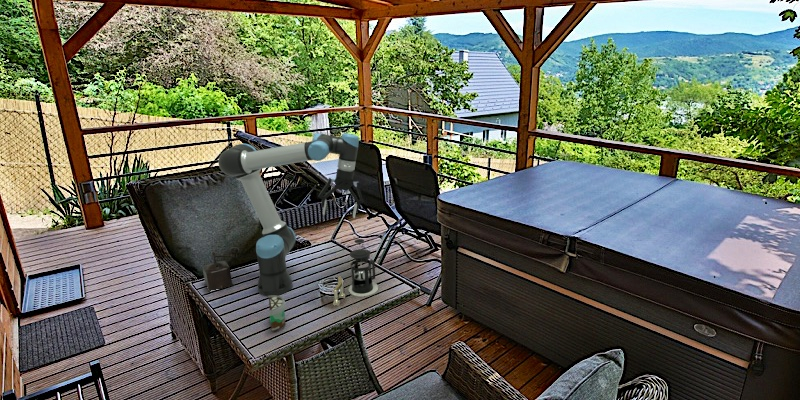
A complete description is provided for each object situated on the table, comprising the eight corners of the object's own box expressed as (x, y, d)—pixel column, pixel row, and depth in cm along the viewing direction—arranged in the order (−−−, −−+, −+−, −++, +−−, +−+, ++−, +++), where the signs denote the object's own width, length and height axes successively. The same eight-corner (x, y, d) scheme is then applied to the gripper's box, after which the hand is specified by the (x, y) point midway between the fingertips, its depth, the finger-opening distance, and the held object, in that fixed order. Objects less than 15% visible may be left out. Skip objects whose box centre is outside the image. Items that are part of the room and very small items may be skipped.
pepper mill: (209, 293, 199) (203, 256, 194) (204, 284, 208) (198, 248, 203) (245, 283, 207) (239, 247, 202) (239, 274, 216) (233, 240, 211)
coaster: (346, 297, 192) (346, 295, 192) (350, 282, 205) (350, 281, 205) (377, 296, 192) (377, 295, 192) (379, 281, 204) (378, 280, 204)
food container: (289, 331, 170) (286, 308, 167) (272, 334, 168) (268, 311, 165) (287, 314, 181) (284, 292, 178) (271, 317, 179) (268, 295, 176)
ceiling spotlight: (333, 305, 186) (332, 290, 184) (338, 289, 199) (337, 275, 197) (342, 305, 186) (341, 290, 184) (347, 289, 199) (345, 275, 197)
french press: (357, 296, 191) (353, 246, 184) (346, 288, 199) (342, 239, 192) (380, 287, 198) (377, 239, 191) (369, 280, 205) (366, 233, 198)
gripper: (317, 167, 190) (310, 215, 195) (375, 174, 196) (367, 221, 201) (316, 164, 197) (310, 210, 202) (372, 171, 203) (364, 216, 208)
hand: (338, 215), depth 201 cm, fingers open, 13 cm apart
